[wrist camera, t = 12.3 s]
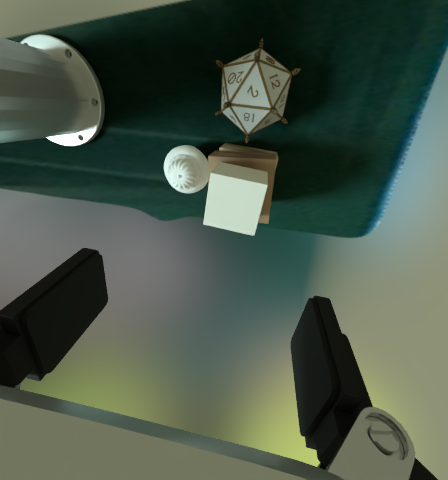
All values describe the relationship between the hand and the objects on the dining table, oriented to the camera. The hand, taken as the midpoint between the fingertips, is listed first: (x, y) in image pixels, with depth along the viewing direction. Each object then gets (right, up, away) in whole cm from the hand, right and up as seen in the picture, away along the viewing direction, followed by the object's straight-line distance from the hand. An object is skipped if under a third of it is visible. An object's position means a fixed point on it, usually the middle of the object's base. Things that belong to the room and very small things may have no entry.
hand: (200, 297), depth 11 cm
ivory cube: (+3, +8, +15) cm, 17 cm away
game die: (+5, +20, +19) cm, 28 cm away
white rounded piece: (-3, +13, +24) cm, 27 cm away
